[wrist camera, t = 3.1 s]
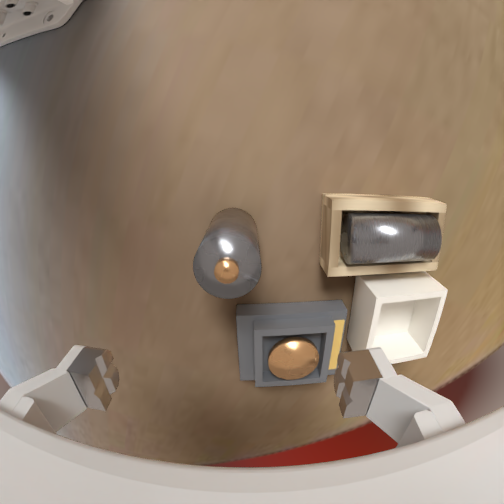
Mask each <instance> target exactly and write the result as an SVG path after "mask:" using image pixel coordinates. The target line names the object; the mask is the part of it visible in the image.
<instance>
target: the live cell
mask: <svg viewBox="0 0 504 504" xmlns="http://www.w3.org/2000/svg"><path fill="white" fill-rule="evenodd" d="M441 243H442V234H441V228H440V225H439V223H438V221H437V219H436V218H435V217H434V216H432V215H427V214H391V213H346V214H345V215H344V217H343V219H342V223H341V235H340V245H341V251H342V256H343V258H344V261H345V262H346V263H347V264H367V263H388V262H408V261H427V260H433V259H435V258H436V257H437V255H438V253H439V251H440V248H441Z"/></svg>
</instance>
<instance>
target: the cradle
mask: <svg viewBox="0 0 504 504" xmlns="http://www.w3.org/2000/svg"><path fill="white" fill-rule="evenodd" d="M346 317H347V309H346V307H345V305H344V303H343V302H342V300H329V301H313V302H294V303H270V304H237V309H236V323H237V338H238V354H239V368H240V380H255V387H268V386H286V385H300V384H311V383H321V382H326V379H327V375H332V374H335V370H336V369H337V367H338V363H337V358H338V355H339V352H341V346H342V341H343V335H344V329H345V323H346ZM289 337H304V338H307V339H309V340H310V341H312V342H313V343H314V344H315V346H316V348H317V351H318V354H319V362H318V365H317V367H316V368H315V369H314V370H313V371H312V372H311V373H310V374H308V375H307V376H305V377H302V378H299V379H293V380H287V379H282V378H279V377H277V376H275V375H274V374H273V373H272V372H271V371H270V369H269V365H268V354H269V351H270V349H271V348H272V347H273V346H274V345H275V344H276V343H277V342H279V341H280V340H283V339H285V338H289Z"/></svg>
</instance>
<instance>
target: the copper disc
mask: <svg viewBox="0 0 504 504" xmlns="http://www.w3.org/2000/svg"><path fill="white" fill-rule="evenodd" d="M318 362H319V354H318V351H317V348H316V346H315V344H314V343H313V342H312V341H310V340H309V339H307V338H304V337H289V338H285V339H283V340H280V341H279V342H277V343H276V344H275V345H274V346H273V347H272V348H271V349H270V351H269V354H268V365H269V369H270V371H271V372H272V373H273V374H274V375H275V376H277V377H279V378H282V379H287V380H293V379H299V378H302V377H305V376H307V375H308V374H310V373H311V372H312V371H313V370H314V369H315V368H316V367H317V365H318Z"/></svg>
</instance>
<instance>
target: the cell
mask: <svg viewBox="0 0 504 504" xmlns="http://www.w3.org/2000/svg"><path fill="white" fill-rule="evenodd" d="M193 271H194V275H195V278H196V280H197V282H198V283H199V285H200V286H201V287H202V288H203V289H204V290H205V291H206V292H208V293H209V294H211V295H213V296H216V297H219V298H225V299H231V298H237V297H241V296H243V295H245V294H247V293H248V292H250V291H251V290H252V289H253V288H254V287H255V286H256V284H257V283H258V281H259V278H260V275H261V258H260V250H259V242H258V234H257V227H256V223H255V221H254V219H253V218H252V216H251V215H250V214H248V213H247V212H246V211H244V210H242V209H238V208H228V209H224V210H222V211H220V212H219V213H217V214H216V215H215V217H214V218H213V219H212V221H211V223H210V225H209V227H208V229H207V231H206V234H205V236H204V238H203V240H202V242H201V244H200V246H199V248H198V250H197V252H196V255H195V257H194V261H193Z"/></svg>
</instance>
